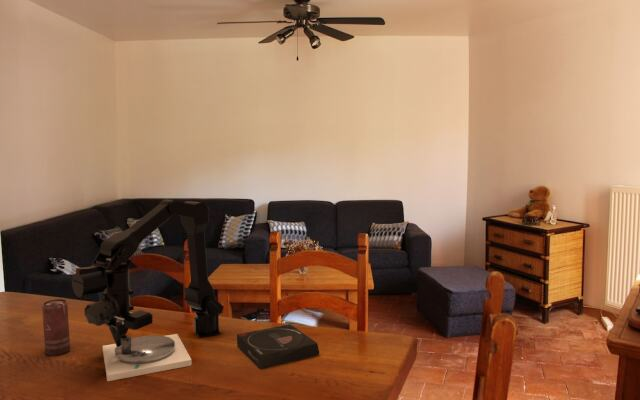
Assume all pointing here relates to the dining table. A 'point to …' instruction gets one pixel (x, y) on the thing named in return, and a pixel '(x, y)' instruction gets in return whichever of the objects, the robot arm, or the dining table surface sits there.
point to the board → (129, 370)
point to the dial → (143, 349)
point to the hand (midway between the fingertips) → (118, 346)
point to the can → (56, 327)
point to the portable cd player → (276, 346)
